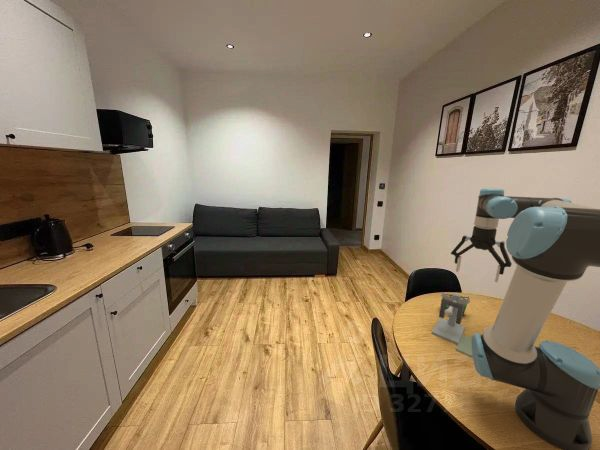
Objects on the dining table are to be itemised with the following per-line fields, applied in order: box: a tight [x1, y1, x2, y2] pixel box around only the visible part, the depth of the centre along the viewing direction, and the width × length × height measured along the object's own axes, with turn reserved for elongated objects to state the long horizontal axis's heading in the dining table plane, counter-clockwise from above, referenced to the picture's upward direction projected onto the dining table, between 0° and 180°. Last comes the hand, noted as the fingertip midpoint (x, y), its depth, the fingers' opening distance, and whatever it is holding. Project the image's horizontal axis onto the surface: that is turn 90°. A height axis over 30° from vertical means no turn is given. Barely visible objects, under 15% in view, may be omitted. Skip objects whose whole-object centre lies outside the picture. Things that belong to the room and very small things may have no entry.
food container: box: [440, 292, 471, 318], centre depth 118 cm, size 12×6×10 cm, turn 72°
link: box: [438, 297, 464, 325], centre depth 103 cm, size 2×8×9 cm, turn 47°
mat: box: [455, 333, 473, 359], centre depth 97 cm, size 12×10×1 cm
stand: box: [431, 292, 466, 346], centre depth 105 cm, size 15×10×16 cm
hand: (476, 275), depth 101 cm, fingers open, 13 cm apart
